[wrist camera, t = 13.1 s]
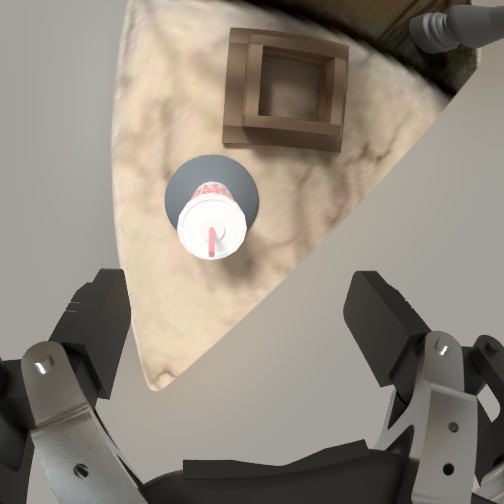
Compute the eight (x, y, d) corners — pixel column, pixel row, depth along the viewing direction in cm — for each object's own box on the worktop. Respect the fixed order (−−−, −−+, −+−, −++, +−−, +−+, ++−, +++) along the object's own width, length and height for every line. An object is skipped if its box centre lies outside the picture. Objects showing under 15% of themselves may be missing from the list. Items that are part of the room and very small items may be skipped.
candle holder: (444, 44, 26) (579, 43, 3) (426, 60, 27) (575, 60, 5) (422, 12, 23) (555, -12, 1) (401, 25, 25) (548, -4, 2)
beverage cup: (198, 232, 34) (191, 300, 22) (178, 187, 32) (154, 233, 19) (245, 214, 34) (265, 273, 22) (227, 167, 31) (236, 199, 19)
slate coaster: (165, 154, 30) (164, 155, 30) (260, 156, 32) (261, 157, 31) (167, 242, 35) (166, 244, 34) (254, 243, 36) (254, 245, 36)
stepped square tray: (230, 29, 25) (232, 16, 20) (345, 47, 26) (362, 40, 22) (222, 142, 30) (223, 145, 26) (337, 151, 32) (353, 156, 28)
